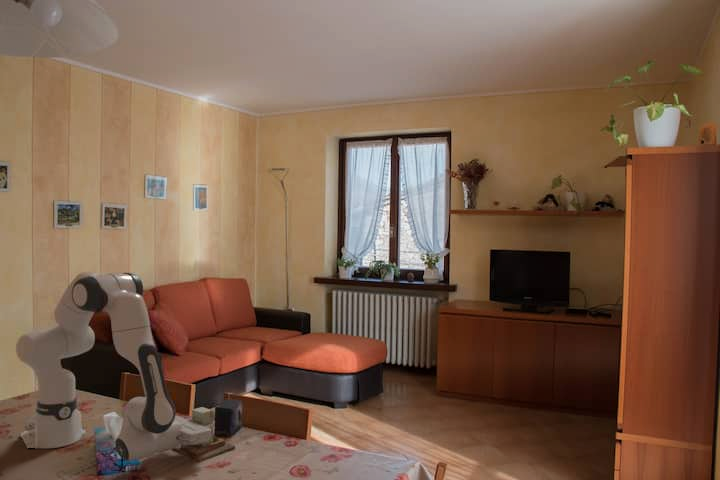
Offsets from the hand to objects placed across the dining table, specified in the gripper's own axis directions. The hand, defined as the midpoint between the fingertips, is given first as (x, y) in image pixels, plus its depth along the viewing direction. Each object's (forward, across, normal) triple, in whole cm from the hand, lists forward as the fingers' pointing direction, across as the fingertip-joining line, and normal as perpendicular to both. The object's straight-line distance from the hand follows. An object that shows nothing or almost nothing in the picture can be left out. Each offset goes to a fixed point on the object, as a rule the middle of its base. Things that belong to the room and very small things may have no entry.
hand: (205, 423), depth 193 cm
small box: (+14, +6, +9) cm, 17 cm away
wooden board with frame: (-1, +2, +8) cm, 8 cm away
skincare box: (-1, 0, +8) cm, 8 cm away
